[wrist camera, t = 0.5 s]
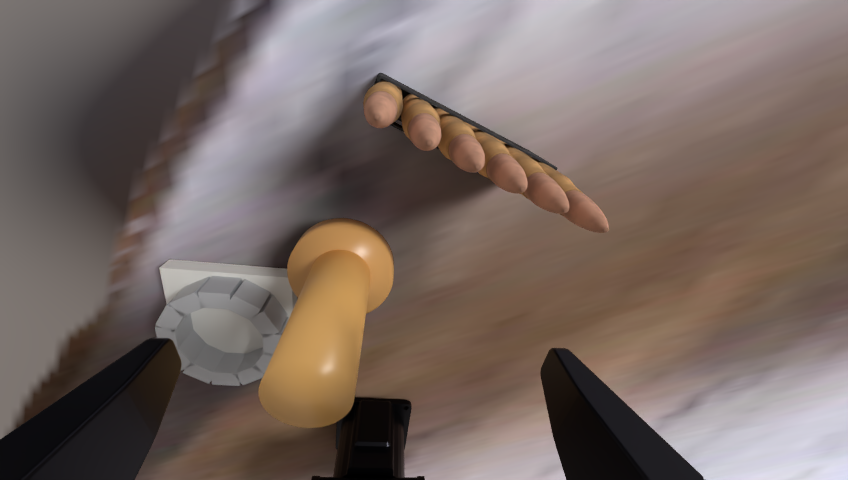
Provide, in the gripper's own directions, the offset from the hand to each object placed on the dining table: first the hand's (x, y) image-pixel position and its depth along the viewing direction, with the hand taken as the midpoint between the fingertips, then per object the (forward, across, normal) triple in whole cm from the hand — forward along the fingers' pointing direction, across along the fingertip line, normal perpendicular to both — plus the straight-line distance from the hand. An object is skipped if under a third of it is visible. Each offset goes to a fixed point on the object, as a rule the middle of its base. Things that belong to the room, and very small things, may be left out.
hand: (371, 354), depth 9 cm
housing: (+14, +10, +14) cm, 23 cm away
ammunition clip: (+17, -4, -1) cm, 17 cm away
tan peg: (+15, +2, +8) cm, 17 cm away
